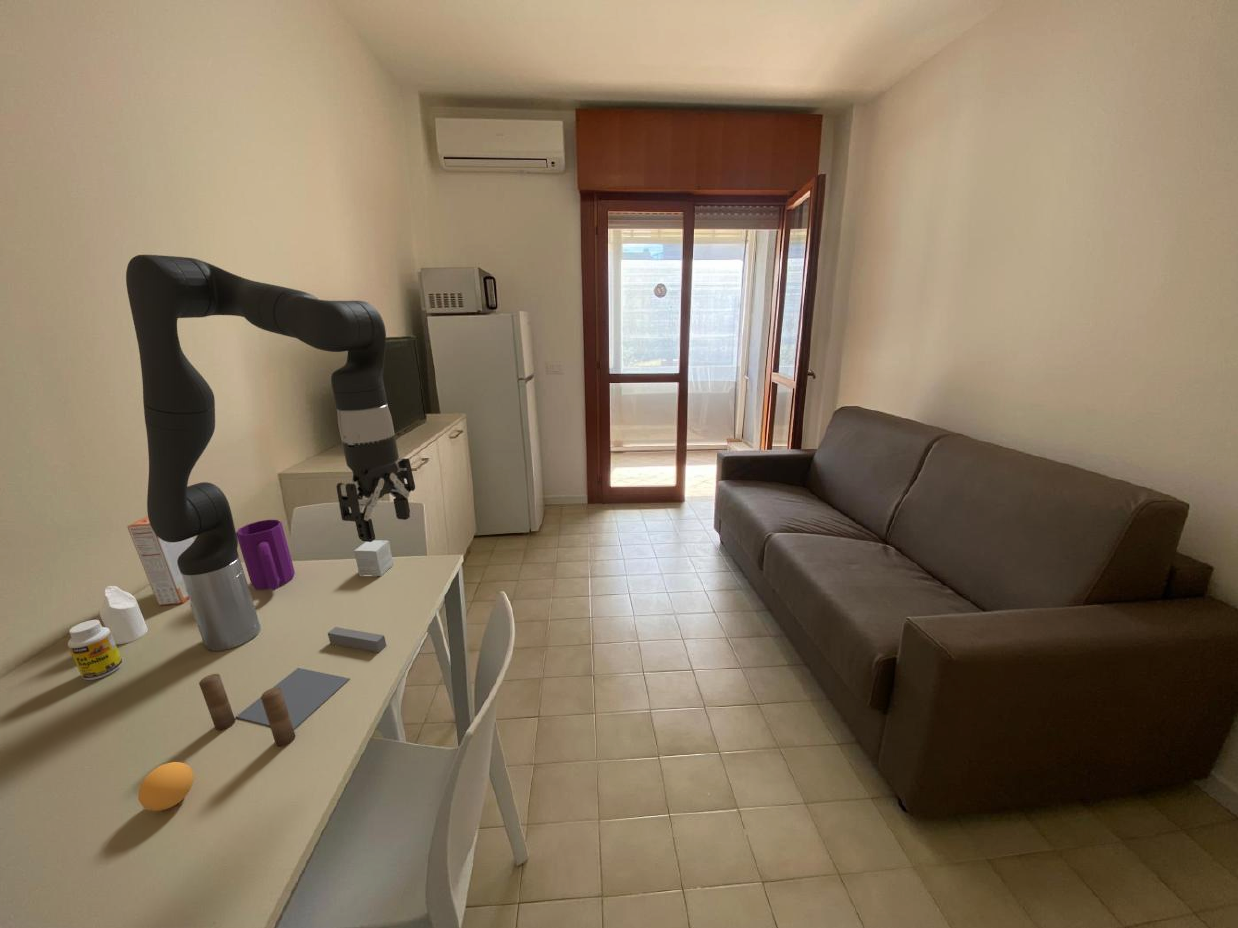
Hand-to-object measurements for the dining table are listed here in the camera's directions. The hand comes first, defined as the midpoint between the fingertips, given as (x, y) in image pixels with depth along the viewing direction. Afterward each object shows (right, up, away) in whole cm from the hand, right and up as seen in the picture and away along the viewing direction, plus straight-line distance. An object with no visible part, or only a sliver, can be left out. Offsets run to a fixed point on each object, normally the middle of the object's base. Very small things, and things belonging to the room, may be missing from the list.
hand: (386, 529), depth 82 cm
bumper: (-14, -25, +17) cm, 34 cm away
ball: (-23, -33, -15) cm, 43 cm away
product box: (-24, -17, +46) cm, 55 cm away
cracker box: (-67, -20, +40) cm, 81 cm away
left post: (-26, -32, -1) cm, 41 cm away
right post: (-14, -32, -4) cm, 36 cm away
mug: (-47, -20, +40) cm, 65 cm away
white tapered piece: (-65, -26, +23) cm, 74 cm away
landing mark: (-18, -30, +4) cm, 35 cm away
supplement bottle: (-60, -29, +13) cm, 68 cm away
